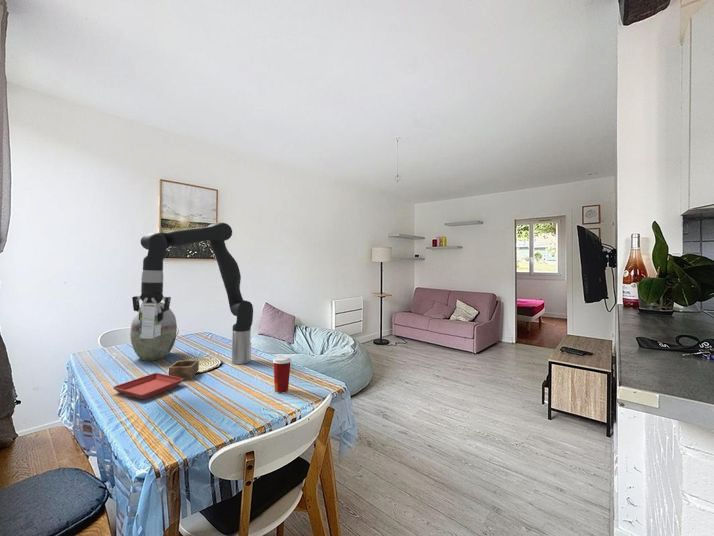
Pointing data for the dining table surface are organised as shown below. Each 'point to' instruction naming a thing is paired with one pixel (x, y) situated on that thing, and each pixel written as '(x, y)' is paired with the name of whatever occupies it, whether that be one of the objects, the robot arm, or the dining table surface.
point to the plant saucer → (148, 385)
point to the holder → (184, 369)
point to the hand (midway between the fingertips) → (151, 321)
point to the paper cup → (281, 373)
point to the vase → (158, 345)
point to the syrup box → (149, 321)
